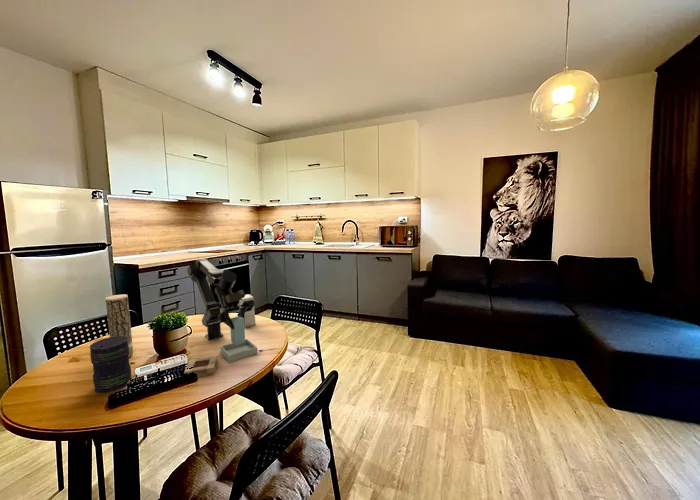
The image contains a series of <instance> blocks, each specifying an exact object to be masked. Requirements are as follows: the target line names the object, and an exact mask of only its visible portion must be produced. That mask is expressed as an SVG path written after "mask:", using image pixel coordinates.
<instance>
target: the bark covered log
mask: <svg viewBox="0 0 700 500" xmlns="http://www.w3.org/2000/svg"><path fill="white" fill-rule="evenodd" d="M105 305H106V314H107V325H108V333H109V334H108V335H109V338H110V337H117V336H124V337H127V338H128V341H127V342H128V345H129V355H128V356H129V358H131V357H132V356H133V355H134V348H133V347H134V346H133V337H132V325H131V315H130V314H131V313H130V306H129V297H128V294H125V293H124V294H123V293H122V294H116V295H110V296H106V297H105Z"/></svg>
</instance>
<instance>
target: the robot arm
mask: <svg viewBox="0 0 700 500" xmlns="http://www.w3.org/2000/svg"><path fill="white" fill-rule="evenodd" d="M186 271H187V275H188V276H189V277H190V279H191V280H192V281H193V282H194V283H196V285H197V288H198V291H199V294H200V296H201V299H202V302H203V304H204V306H205V308H204V311H203V316H202V318H201V324H202V325H203V326H204V327H205V328H206V331H207V333H206V334H205V337H206V338H207V340H208V341H209V340H214V339H219V338H221V337H224V334H223V333H222V331H221V330H222V328H221V327H222V326H221V324H222V323H224V324H225V325H226V326H228V327H229V329H230V330H231V329H234V325H233V323H232V321H231V319H230V318H231V316H230V313H233V312H237V315H236V317H238V316H240V317H242V318H244V326H245V312H248V311H251V310H252V309H253V307H254V308H255V305H256V303H255V300H254V299H253V300H252V299H251V300H247V301H244V302H243V304H242V305H239V300H242V298H244V297H245V295H246V294H245V291H244V290H243V289H241V290H238V291H237V292H232V288H233V287H234V285H235V283H236V281H237V279H238V276H237V274H236V273H235V272H233V271H230V269H228V268H227V269H220V268H217V267H216V266H214V265H213V264H212V263H211V262H210V261H209V259H208V258H207V259H206V258H203V259H196V260H195V262H192V264H190V265H188V267H187V269H186ZM210 286H215V288H214V294H216V295H217V298H218V301H219V302H216V300H215V298H214V294H213V292H212V289H211V287H210Z"/></svg>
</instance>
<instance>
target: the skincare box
mask: <svg viewBox="0 0 700 500" xmlns="http://www.w3.org/2000/svg"><path fill="white" fill-rule="evenodd" d="M251 299H252V300H254V296H252V295H251V294H250V293H249V294H248V293H247V294H245V297H244V298H242V300H239V304H238V305H242V304H243V302H244V301H247V300H251ZM255 311H256V310H255V306H254V307H253V309H252V310H251V311H248V312H245V326H244V328H246V327H250V326H255V325H256V314H255V313H256V312H255Z"/></svg>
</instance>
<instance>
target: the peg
mask: <svg viewBox="0 0 700 500" xmlns="http://www.w3.org/2000/svg"><path fill="white" fill-rule="evenodd" d="M230 319H231V321H232V323H233V325H234V329H231V328H230V341H231V342H230V343H233V344H235V345H238V344H241V343H244V342H245V339H246V335H245V334H246V331H245V330H246V329H245V328H246V327H244V318H242V317H240V316H235V317H230Z"/></svg>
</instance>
